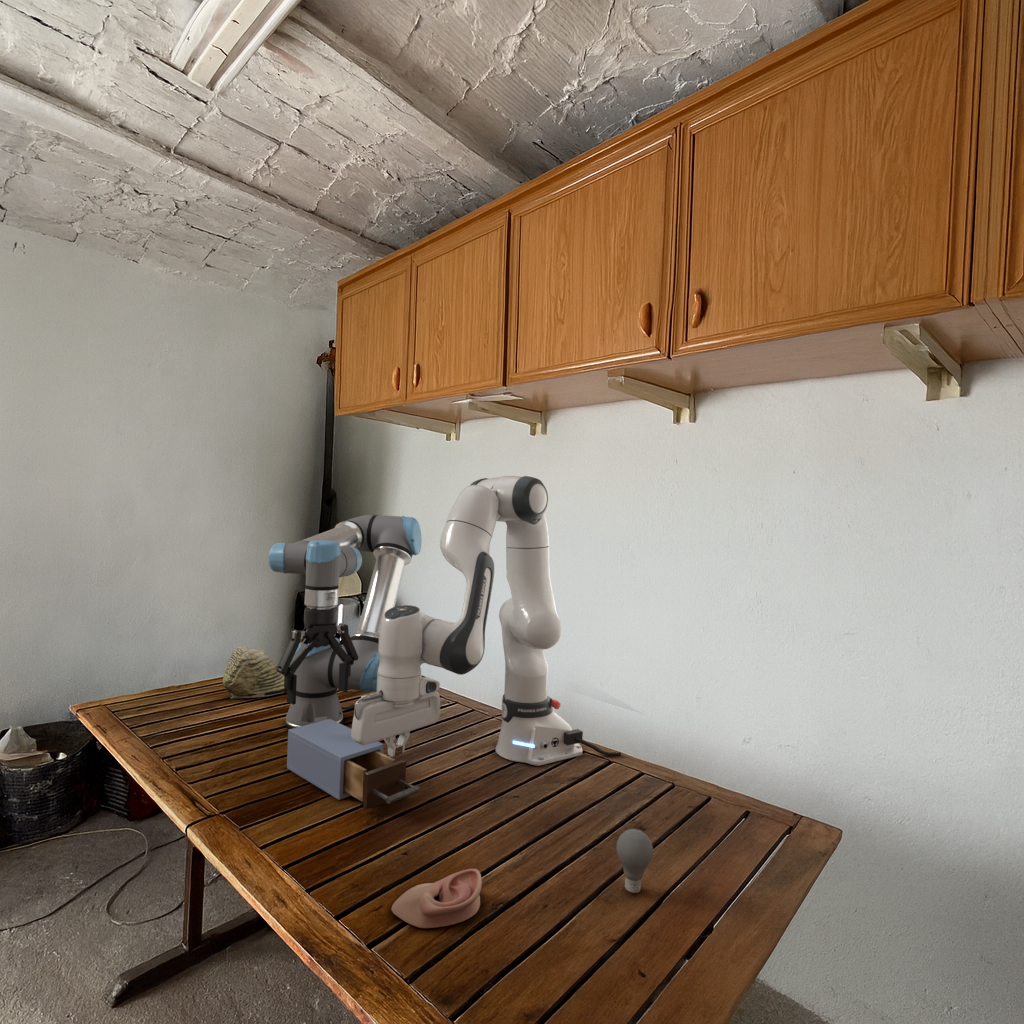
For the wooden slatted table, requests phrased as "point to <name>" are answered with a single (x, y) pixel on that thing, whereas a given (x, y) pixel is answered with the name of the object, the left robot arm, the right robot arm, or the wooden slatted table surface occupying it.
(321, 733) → the cabinet
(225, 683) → the fossil
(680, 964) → the wooden slatted table surface
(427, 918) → the anatomical model
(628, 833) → the light bulb
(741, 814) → the wooden slatted table surface
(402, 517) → the left robot arm
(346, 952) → the wooden slatted table surface
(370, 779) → the drawer
